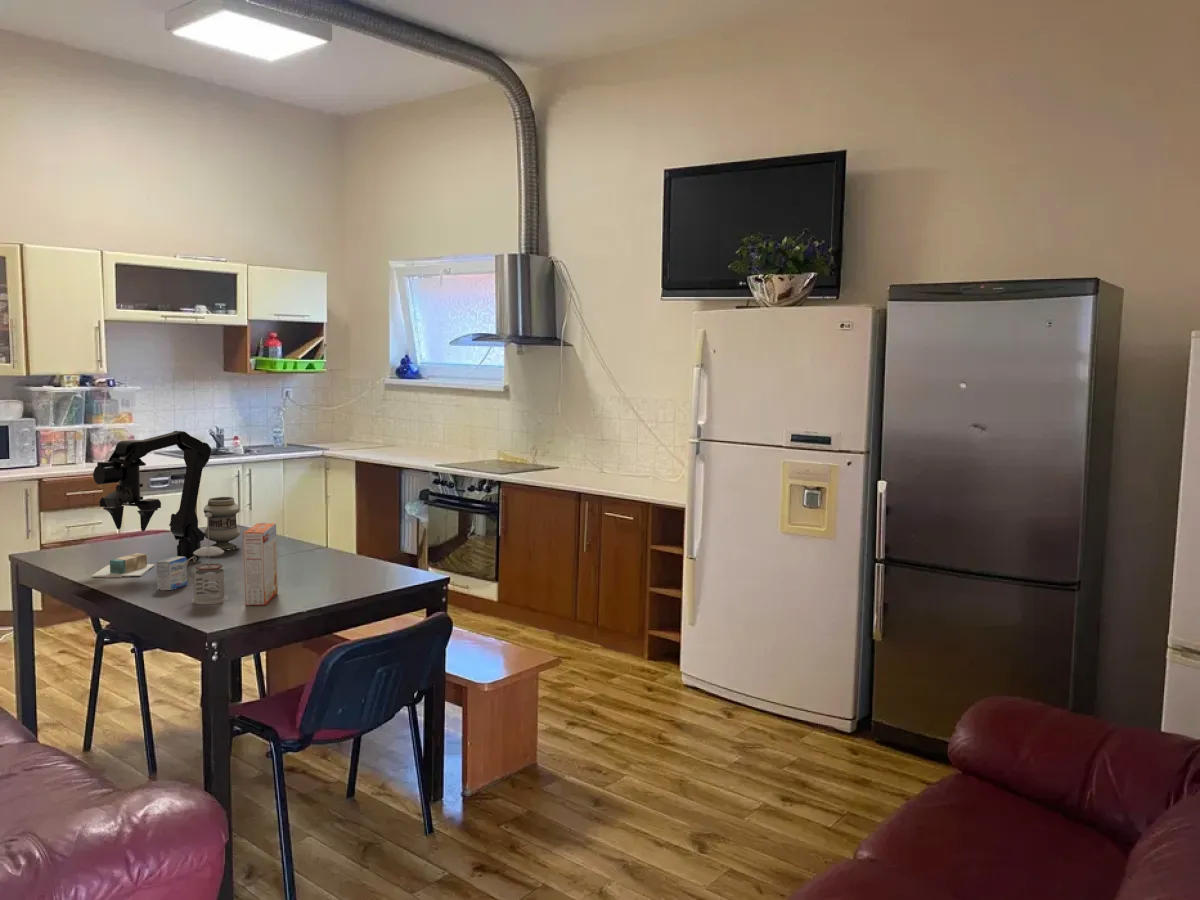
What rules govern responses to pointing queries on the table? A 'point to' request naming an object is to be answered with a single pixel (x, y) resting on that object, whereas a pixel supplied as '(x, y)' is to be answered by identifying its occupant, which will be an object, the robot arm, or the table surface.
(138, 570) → the cream square tile
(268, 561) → the cracker box
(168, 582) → the medicine box
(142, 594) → the table surface
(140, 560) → the birch block
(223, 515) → the apothecary jar
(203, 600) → the french press
